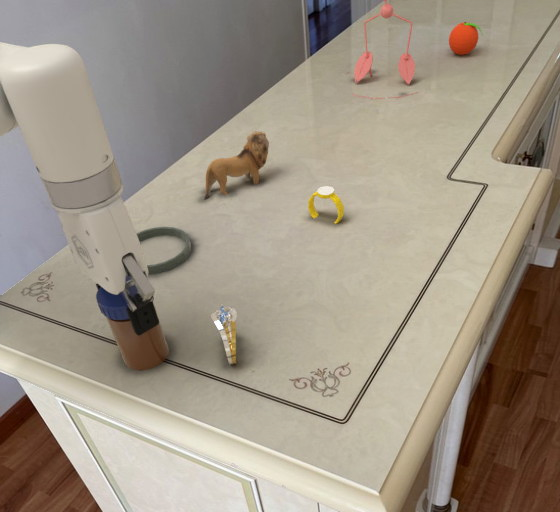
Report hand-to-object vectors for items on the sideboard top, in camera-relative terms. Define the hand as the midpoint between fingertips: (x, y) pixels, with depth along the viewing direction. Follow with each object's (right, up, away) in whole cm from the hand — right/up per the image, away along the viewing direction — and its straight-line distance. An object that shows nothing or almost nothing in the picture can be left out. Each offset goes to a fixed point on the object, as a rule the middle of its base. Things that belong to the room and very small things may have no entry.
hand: (131, 315), depth 73 cm
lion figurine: (+11, +27, +36) cm, 46 cm away
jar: (+1, -5, +5) cm, 8 cm away
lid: (0, +2, -2) cm, 3 cm away
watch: (+26, +18, +25) cm, 40 cm away
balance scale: (+42, +59, +63) cm, 96 cm away
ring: (+12, -5, +4) cm, 14 cm away
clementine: (+64, +72, +73) cm, 121 cm away
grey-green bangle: (-2, +12, +22) cm, 25 cm away
